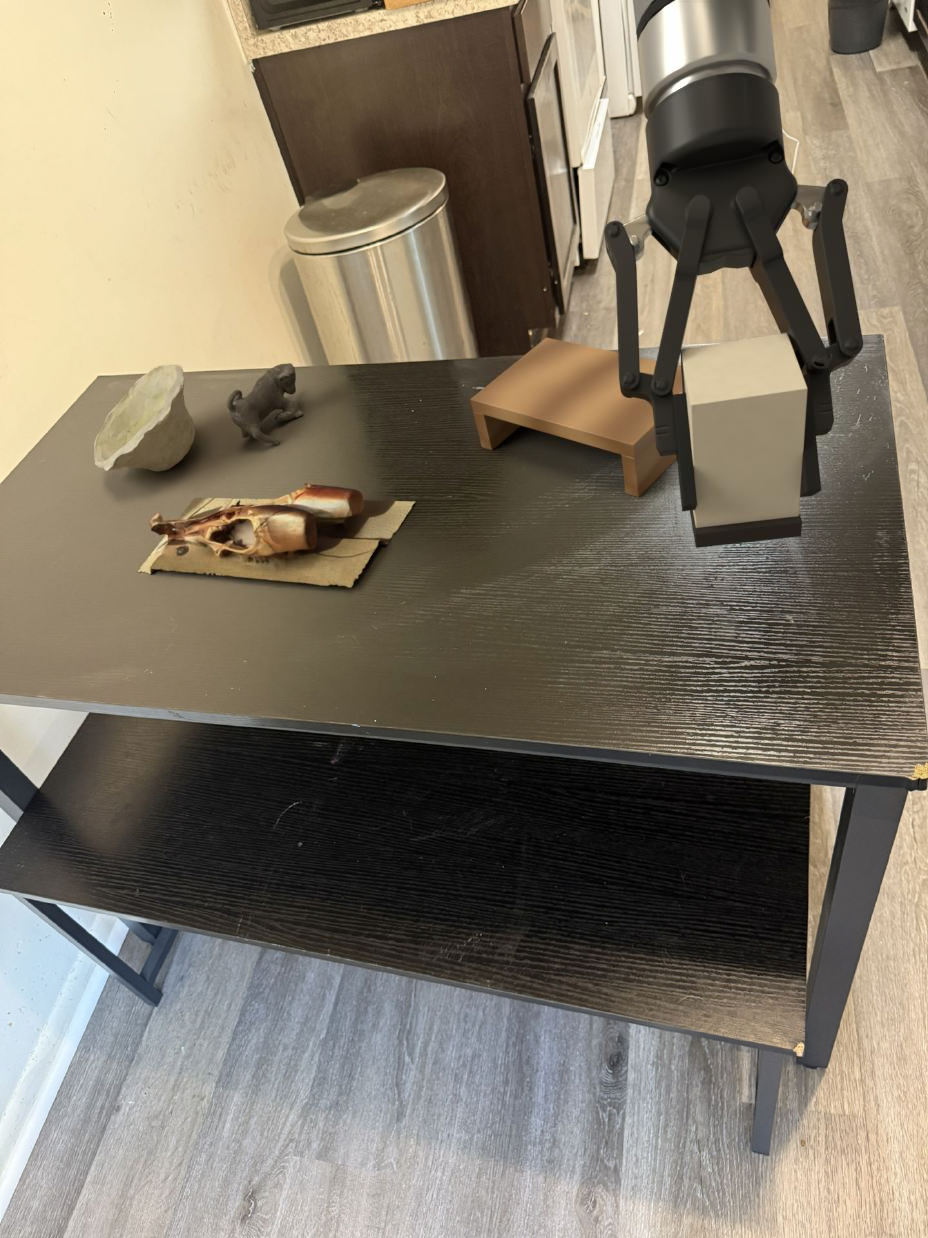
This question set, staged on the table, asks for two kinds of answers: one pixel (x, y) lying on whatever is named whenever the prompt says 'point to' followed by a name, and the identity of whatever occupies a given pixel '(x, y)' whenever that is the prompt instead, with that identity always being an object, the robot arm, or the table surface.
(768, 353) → the beige block black base
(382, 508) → the ballet pointe shoes
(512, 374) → the shoe shelf
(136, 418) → the bowl
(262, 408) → the dog figurine
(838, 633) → the table surface
